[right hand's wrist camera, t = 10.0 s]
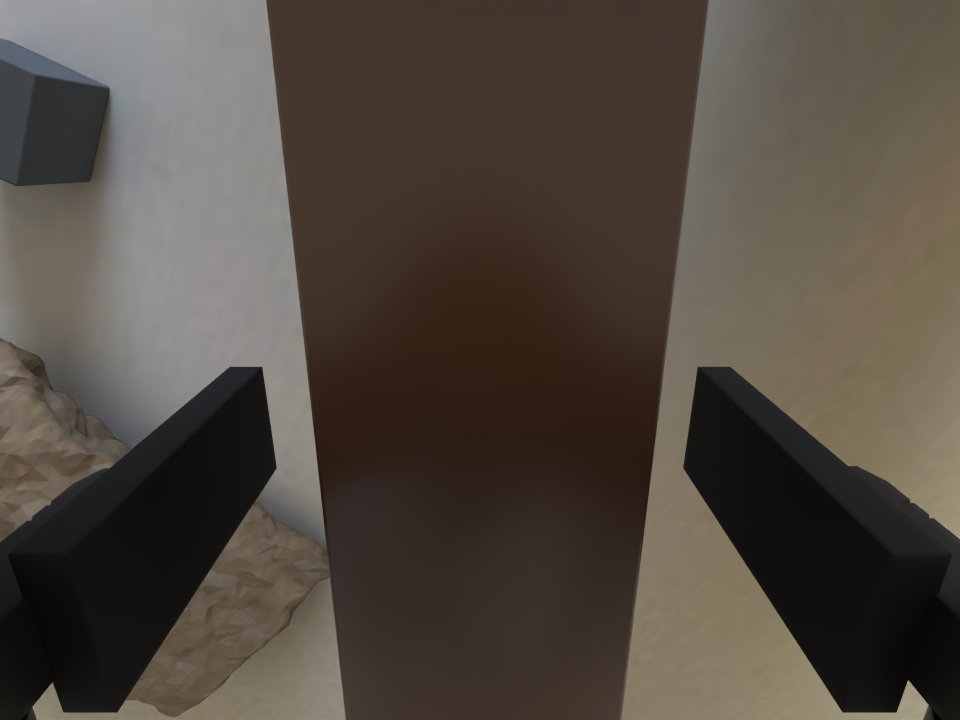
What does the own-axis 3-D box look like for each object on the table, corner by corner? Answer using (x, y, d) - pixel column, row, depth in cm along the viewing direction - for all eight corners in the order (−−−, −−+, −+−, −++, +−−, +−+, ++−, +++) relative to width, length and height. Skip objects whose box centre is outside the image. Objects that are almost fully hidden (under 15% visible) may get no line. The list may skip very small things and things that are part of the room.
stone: (-155, 536, 29) (-264, 616, 24) (15, 320, 29) (-57, 350, 23) (206, 678, 38) (188, 763, 32) (345, 512, 37) (350, 568, 31)
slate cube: (90, 182, 27) (17, 187, 22) (-7, 139, 26) (-102, 136, 22) (110, 87, 25) (36, 74, 21) (8, 40, 25) (-90, 15, 20)
